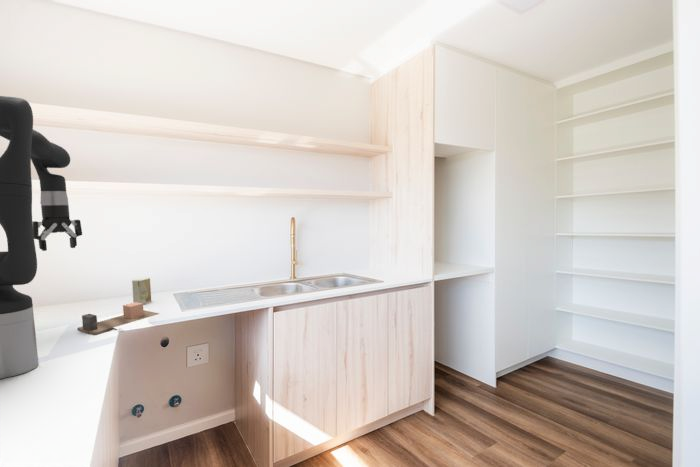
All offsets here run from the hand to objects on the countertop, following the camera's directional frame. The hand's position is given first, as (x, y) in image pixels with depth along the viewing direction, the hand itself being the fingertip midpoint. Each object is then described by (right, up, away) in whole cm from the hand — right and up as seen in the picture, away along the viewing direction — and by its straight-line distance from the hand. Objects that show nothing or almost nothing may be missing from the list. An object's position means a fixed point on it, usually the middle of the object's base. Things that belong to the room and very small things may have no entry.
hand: (59, 249), depth 126 cm
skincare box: (+11, -28, +33) cm, 44 cm away
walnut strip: (+16, -29, +10) cm, 35 cm away
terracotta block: (+18, -28, +14) cm, 36 cm away
